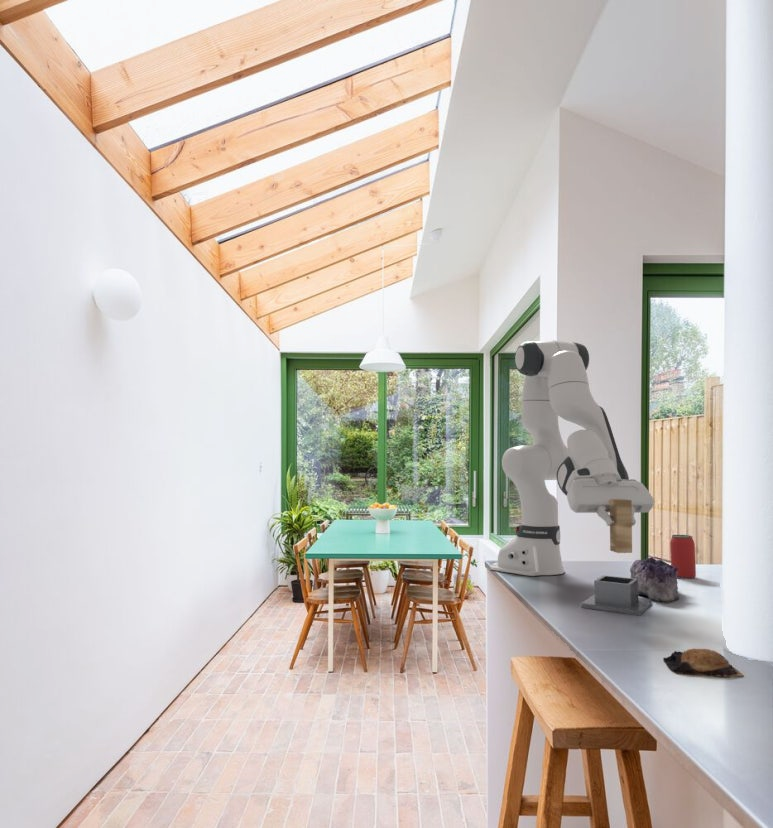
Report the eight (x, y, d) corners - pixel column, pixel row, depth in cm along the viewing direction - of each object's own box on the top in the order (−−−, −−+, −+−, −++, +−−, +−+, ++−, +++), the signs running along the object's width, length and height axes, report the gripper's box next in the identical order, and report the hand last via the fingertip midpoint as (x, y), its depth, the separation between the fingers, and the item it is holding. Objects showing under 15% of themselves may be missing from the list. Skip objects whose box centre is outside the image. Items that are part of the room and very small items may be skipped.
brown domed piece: (724, 664, 104) (724, 642, 104) (747, 682, 95) (746, 658, 96) (659, 661, 105) (658, 639, 106) (675, 678, 97) (675, 655, 97)
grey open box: (581, 607, 141) (580, 581, 142) (596, 596, 152) (595, 572, 152) (640, 615, 134) (639, 588, 134) (651, 603, 145) (650, 578, 145)
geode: (696, 605, 144) (689, 563, 145) (645, 609, 146) (638, 568, 147) (673, 584, 164) (667, 547, 165) (629, 588, 166) (623, 552, 167)
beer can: (669, 577, 177) (667, 536, 178) (673, 574, 182) (671, 533, 183) (694, 580, 173) (692, 537, 174) (697, 576, 178) (696, 535, 179)
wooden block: (610, 550, 141) (609, 498, 142) (624, 550, 142) (623, 499, 142) (617, 553, 138) (617, 500, 138) (632, 552, 138) (631, 500, 139)
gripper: (635, 488, 153) (658, 532, 143) (558, 488, 151) (576, 532, 140) (645, 471, 149) (669, 515, 139) (566, 470, 146) (585, 515, 136)
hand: (621, 524), depth 140 cm, fingers closed on wooden block, 3 cm apart
